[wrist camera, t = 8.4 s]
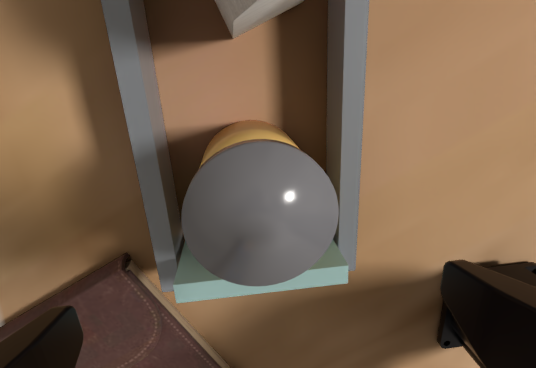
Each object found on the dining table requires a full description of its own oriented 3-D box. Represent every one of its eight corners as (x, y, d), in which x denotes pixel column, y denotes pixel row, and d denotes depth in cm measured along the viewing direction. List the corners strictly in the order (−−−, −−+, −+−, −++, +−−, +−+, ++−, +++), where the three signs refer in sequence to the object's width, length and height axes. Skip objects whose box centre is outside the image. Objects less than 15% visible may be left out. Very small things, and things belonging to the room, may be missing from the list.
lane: (340, 246, 20) (406, 354, 12) (170, 264, 19) (130, 392, 11) (355, -220, 12) (545, -667, 5) (77, -226, 11) (-213, -775, 4)
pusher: (322, 236, 19) (347, 283, 15) (189, 249, 18) (176, 303, 14) (322, 221, 19) (348, 265, 15) (186, 235, 18) (172, 285, 14)
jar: (303, 212, 19) (336, 277, 13) (205, 221, 18) (192, 294, 12) (302, 113, 17) (340, 137, 11) (192, 121, 16) (169, 150, 10)
